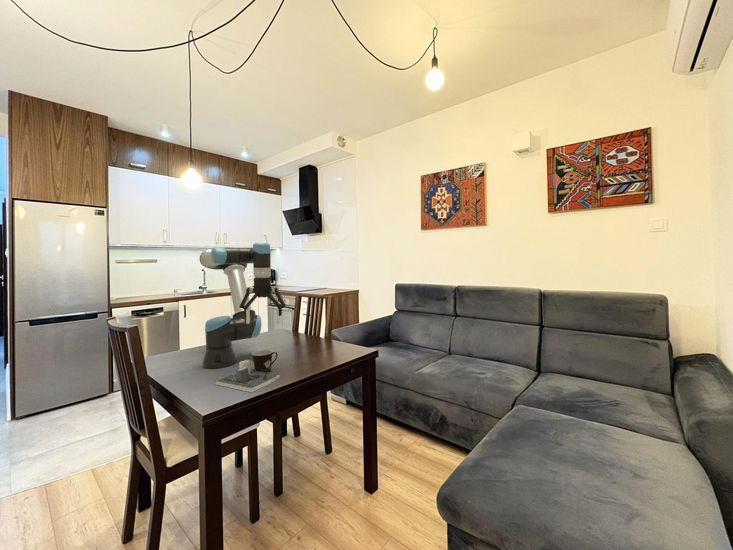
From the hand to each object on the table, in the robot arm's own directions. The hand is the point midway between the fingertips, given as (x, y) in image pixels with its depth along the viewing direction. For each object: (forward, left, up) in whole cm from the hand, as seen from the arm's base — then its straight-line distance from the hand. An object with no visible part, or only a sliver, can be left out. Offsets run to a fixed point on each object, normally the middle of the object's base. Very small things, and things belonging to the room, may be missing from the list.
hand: (263, 323), depth 145 cm
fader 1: (-3, -8, -21) cm, 23 cm away
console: (+2, -12, -23) cm, 26 cm away
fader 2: (+3, -16, -21) cm, 27 cm away
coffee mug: (+2, -1, -23) cm, 23 cm away
